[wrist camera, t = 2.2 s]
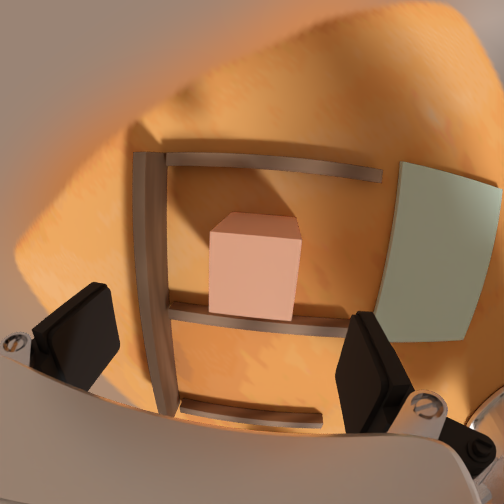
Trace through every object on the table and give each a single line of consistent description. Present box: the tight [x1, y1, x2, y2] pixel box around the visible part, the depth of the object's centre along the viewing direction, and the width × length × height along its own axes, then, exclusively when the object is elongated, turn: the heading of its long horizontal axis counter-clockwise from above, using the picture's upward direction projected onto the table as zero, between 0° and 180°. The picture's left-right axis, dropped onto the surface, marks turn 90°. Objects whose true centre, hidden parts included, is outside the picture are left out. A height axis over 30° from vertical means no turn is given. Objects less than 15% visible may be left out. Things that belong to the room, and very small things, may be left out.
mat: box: [374, 161, 503, 342], centre depth 21 cm, size 12×16×1 cm
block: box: [209, 212, 302, 321], centre depth 19 cm, size 5×5×7 cm
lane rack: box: [133, 152, 383, 428], centre depth 23 cm, size 18×27×4 cm, turn 176°
